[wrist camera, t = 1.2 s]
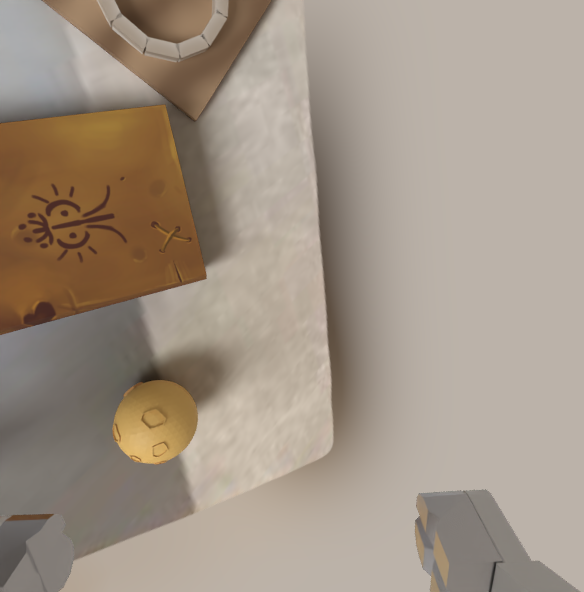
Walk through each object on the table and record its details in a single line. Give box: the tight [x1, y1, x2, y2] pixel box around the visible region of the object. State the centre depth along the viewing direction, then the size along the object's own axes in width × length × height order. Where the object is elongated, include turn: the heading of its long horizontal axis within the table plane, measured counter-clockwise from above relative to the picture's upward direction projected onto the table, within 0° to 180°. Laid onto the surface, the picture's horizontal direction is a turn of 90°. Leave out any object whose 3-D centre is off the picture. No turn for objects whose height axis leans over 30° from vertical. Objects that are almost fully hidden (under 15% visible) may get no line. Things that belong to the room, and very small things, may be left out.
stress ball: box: [113, 380, 198, 464], centre depth 48 cm, size 10×10×10 cm
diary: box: [0, 105, 206, 335], centre depth 40 cm, size 23×19×6 cm
